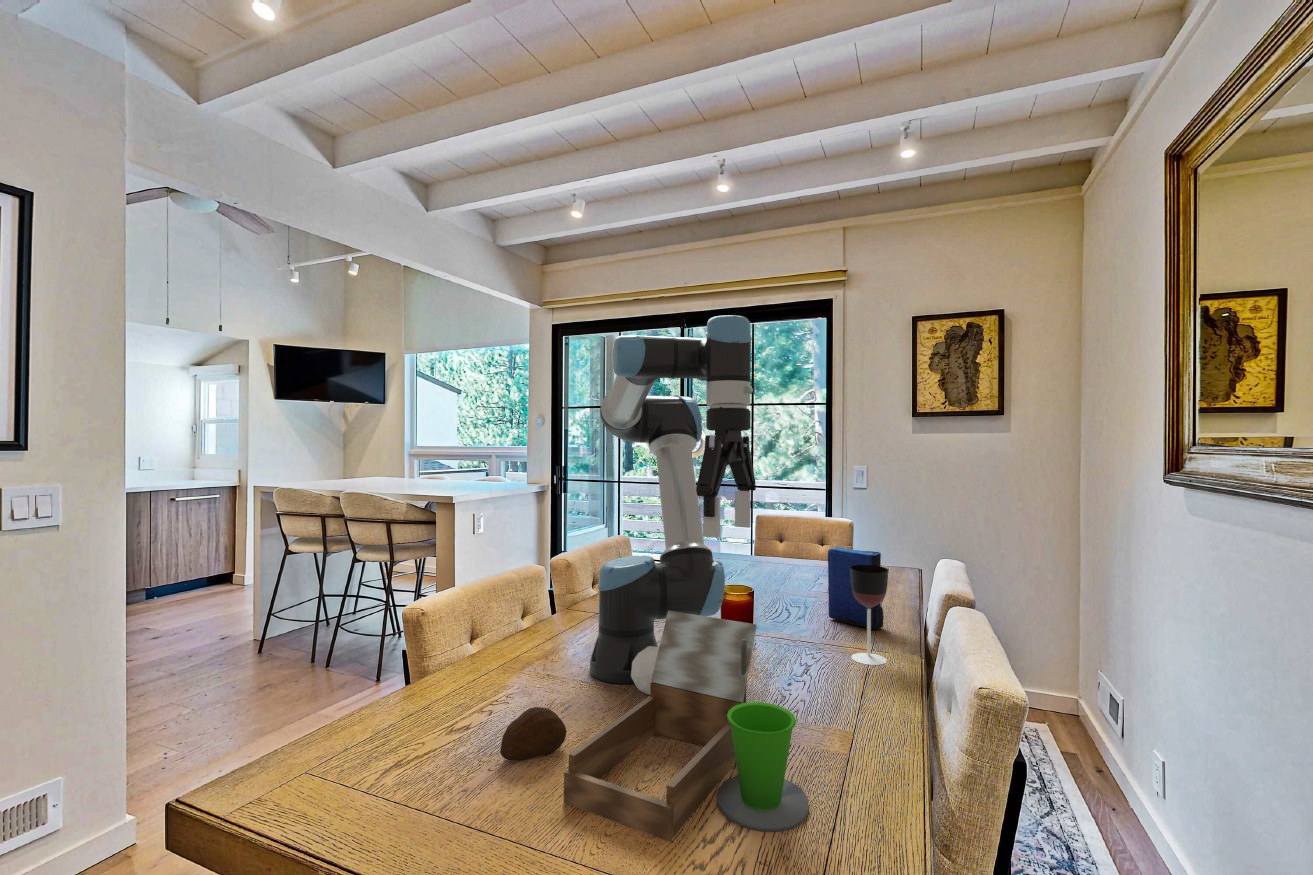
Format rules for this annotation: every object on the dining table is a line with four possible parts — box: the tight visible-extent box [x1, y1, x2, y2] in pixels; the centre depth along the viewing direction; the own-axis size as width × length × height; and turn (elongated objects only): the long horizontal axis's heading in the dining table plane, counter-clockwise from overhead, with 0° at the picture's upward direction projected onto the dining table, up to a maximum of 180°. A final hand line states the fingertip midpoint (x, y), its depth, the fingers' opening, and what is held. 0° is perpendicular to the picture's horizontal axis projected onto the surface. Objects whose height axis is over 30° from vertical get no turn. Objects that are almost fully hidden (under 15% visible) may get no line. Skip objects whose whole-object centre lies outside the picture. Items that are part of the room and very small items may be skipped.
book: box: [827, 546, 884, 630], centre depth 162 cm, size 14×5×20 cm, turn 42°
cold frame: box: [563, 611, 757, 842], centre depth 91 cm, size 16×30×19 cm, turn 151°
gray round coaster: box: [716, 774, 810, 833], centre depth 81 cm, size 12×12×1 cm
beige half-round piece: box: [631, 646, 659, 696], centre depth 116 cm, size 9×9×12 cm
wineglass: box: [850, 565, 889, 666], centre depth 136 cm, size 8×9×20 cm
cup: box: [727, 701, 797, 811], centre depth 81 cm, size 9×9×11 cm
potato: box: [499, 706, 568, 762], centre depth 94 cm, size 7×10×7 cm
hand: (727, 531), depth 105 cm, fingers open, 13 cm apart
